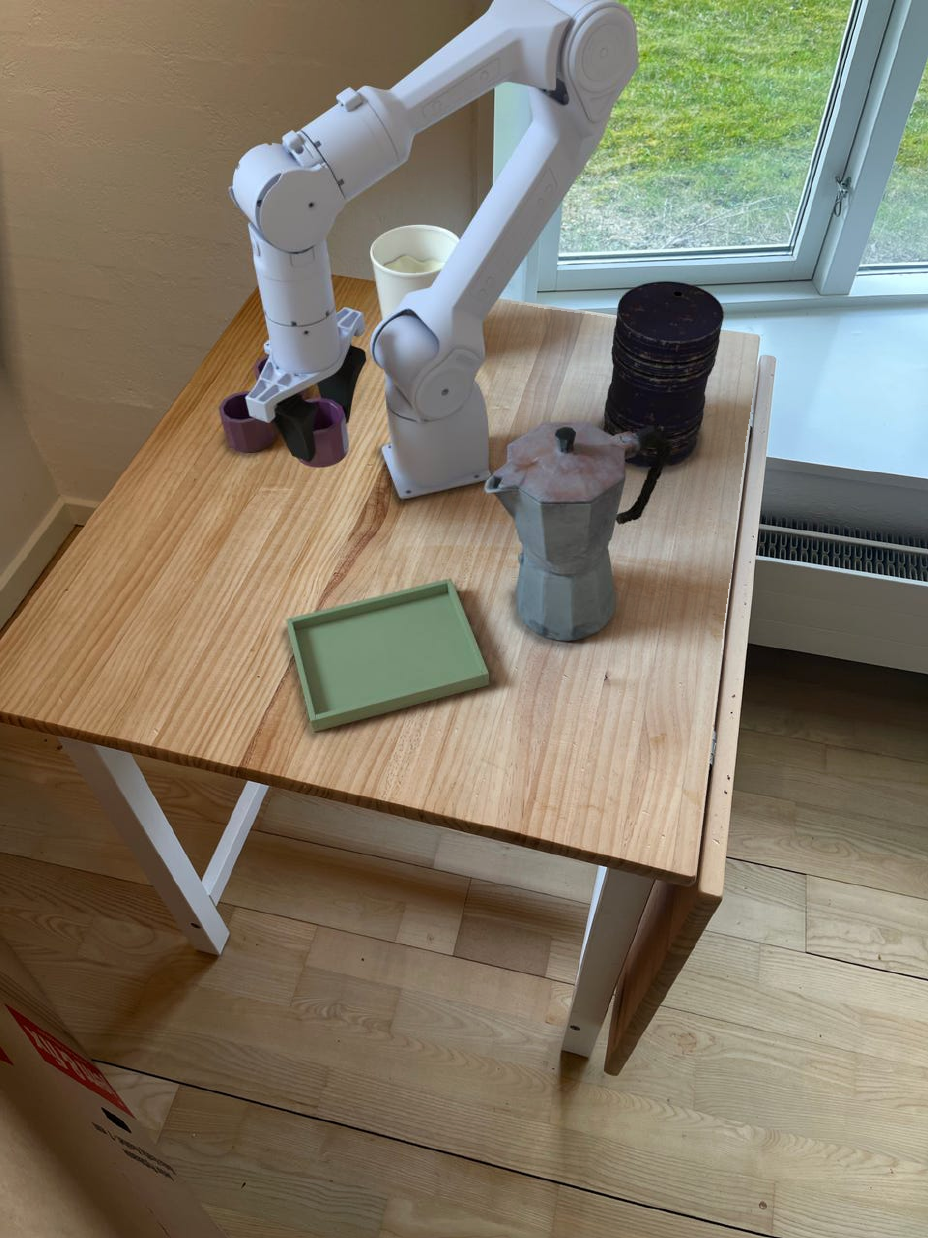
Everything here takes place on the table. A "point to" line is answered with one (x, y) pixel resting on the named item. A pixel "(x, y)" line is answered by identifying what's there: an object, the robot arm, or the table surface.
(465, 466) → the robot arm
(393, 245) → the white paper cup
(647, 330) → the storage jar
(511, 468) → the moka pot
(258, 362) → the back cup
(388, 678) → the tray
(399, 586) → the table surface
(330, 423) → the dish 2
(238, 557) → the table surface
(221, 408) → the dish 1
